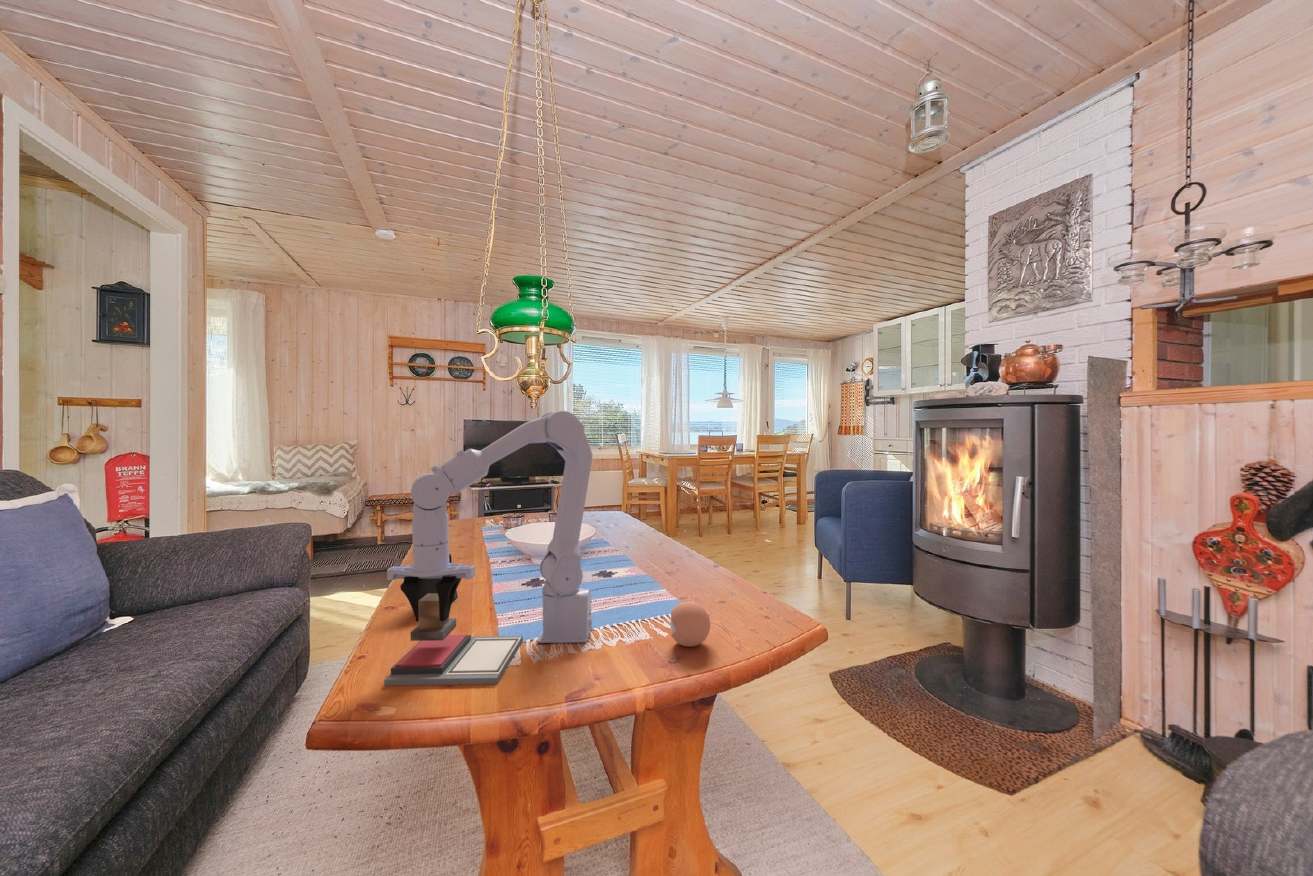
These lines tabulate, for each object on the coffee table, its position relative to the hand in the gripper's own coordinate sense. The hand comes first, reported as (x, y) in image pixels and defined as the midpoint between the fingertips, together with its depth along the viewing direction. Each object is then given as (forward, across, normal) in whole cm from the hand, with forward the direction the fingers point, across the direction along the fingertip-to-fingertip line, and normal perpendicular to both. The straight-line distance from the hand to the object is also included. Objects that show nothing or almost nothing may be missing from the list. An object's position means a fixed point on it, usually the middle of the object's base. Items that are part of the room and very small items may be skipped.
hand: (432, 619), depth 82 cm
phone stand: (+8, +11, -26) cm, 29 cm away
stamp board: (+8, -5, 0) cm, 9 cm away
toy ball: (+8, -46, -5) cm, 47 cm away
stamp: (+3, 0, 0) cm, 3 cm away
